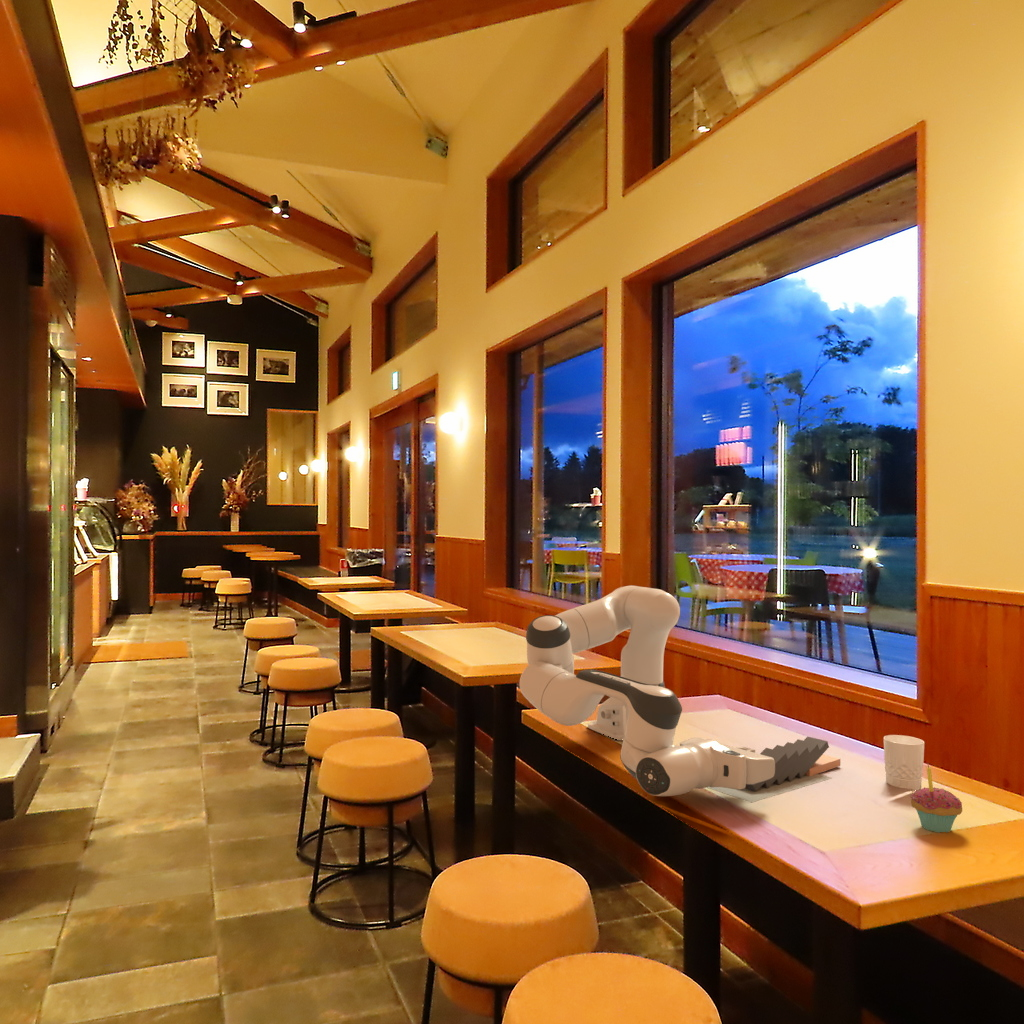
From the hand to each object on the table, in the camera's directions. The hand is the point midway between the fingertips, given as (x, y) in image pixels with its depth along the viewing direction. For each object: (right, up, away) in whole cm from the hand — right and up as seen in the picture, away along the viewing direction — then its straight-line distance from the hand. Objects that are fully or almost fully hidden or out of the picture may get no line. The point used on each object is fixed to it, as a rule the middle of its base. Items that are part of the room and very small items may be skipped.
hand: (749, 752), depth 170 cm
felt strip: (+5, -8, +4) cm, 10 cm away
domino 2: (+2, -7, +1) cm, 7 cm away
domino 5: (+11, -7, +8) cm, 16 cm away
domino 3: (+5, -7, +4) cm, 9 cm away
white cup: (+34, -9, +4) cm, 35 cm away
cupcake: (+28, -8, -20) cm, 36 cm away
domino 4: (+8, -7, +6) cm, 12 cm away
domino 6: (+14, -7, +10) cm, 19 cm away
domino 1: (-1, -7, -1) cm, 7 cm away
